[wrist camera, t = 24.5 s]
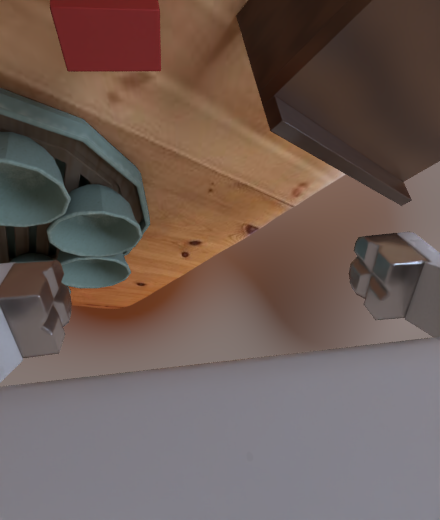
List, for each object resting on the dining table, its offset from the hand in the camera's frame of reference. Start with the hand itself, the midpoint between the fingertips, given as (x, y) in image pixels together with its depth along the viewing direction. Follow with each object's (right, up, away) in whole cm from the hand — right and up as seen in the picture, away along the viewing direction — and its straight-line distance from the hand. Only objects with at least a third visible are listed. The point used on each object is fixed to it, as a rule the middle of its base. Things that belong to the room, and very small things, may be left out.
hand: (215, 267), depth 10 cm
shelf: (+14, +23, +25) cm, 36 cm away
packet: (-8, +22, +16) cm, 29 cm away
